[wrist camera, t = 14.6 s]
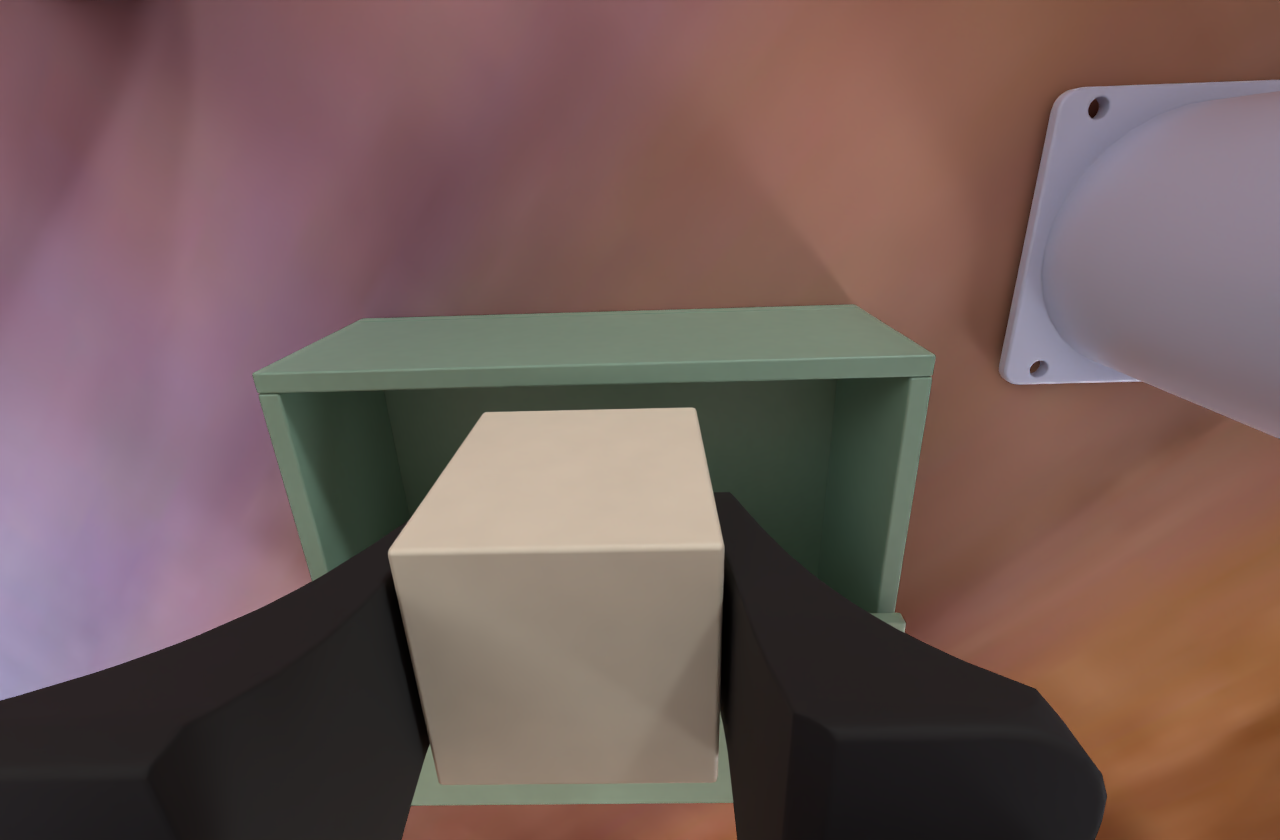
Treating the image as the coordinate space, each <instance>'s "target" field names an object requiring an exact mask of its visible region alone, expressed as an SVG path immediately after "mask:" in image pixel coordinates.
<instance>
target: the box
mask: <svg viewBox="0 0 1280 840" xmlns="http://www.w3.org/2000/svg"><path fill="white" fill-rule="evenodd" d="M935 358H936V357H935V355H934V354H933V353H931V352H930V351H928V350H926V349H925V348H923V347H922V346H920V345H918V344H917V343H915V342H914V341H912V340H910V339H909V338H907V337H906V336H904V335H902V334H901V333H899V332H898V331H896V330H894V329H893V328H891V327H890V326H888V325H886V324H885V323H883V322H882V321H880V320H878V319H877V318H875V317H874V316H872V315H870V314H869V313H867V312H866V311H864V310H862V309H861V308H859V307H858V306H856V305H854V304H851V305H816V306H781V307H746V308H711V309H677V310H642V311H607V312H572V313H538V314H503V315H468V316H433V317H398V318H364V319H360V320H358V321H356V322H354V323H352V324H350V325H348V326H346V327H344V328H342V329H340V330H338V331H336V332H334V333H332V334H330V335H328V336H326V337H324V338H322V339H320V340H318V341H316V342H314V343H312V344H310V345H308V346H306V347H304V348H302V349H300V350H298V351H296V352H294V353H292V354H290V355H288V356H286V357H284V358H282V359H280V360H278V361H276V362H274V363H272V364H270V365H268V366H266V367H264V368H262V369H260V370H258V371H256V372H254V373H253V375H252V376H253V379H254V383H255V386H256V389H257V392H258V393H261V394H259V400H260V403H261V407H262V410H263V414H264V417H265V420H266V424H267V427H268V431H269V434H270V438H271V441H272V445H273V448H274V452H275V455H276V458H277V462H278V465H279V469H280V472H281V476H282V479H283V483H284V486H285V489H286V493H287V496H288V500H289V503H290V507H291V510H292V514H293V517H294V520H295V524H296V527H297V531H298V534H299V538H300V541H301V545H302V548H303V551H304V555H305V558H306V562H307V565H308V569H309V572H310V576H311V579H312V581H314V580H315V579H317V578H319V577H321V576H322V575H324V574H326V573H327V572H329V571H331V570H332V569H334V568H336V567H337V566H339V565H340V564H342V563H344V562H345V561H347V560H348V559H350V558H352V557H353V556H355V555H357V554H358V553H360V552H361V551H363V550H365V549H366V548H368V547H369V546H371V545H372V544H374V543H375V542H377V541H378V540H380V539H381V538H383V537H384V536H386V535H387V534H389V533H390V532H392V531H393V530H395V529H396V528H398V527H399V526H401V525H402V524H404V523H405V522H406V521H408V520H409V519H410V518H411V517H412V515H413V514H414V512H415V511H416V510H417V508H418V507H419V505H420V504H421V502H422V501H423V499H424V498H425V497H426V495H427V494H428V492H429V491H430V489H431V488H432V486H433V485H434V484H435V482H436V481H437V479H438V478H439V476H440V475H441V473H442V472H443V471H444V469H445V468H446V466H447V465H448V463H449V462H450V460H451V459H452V458H453V456H454V455H455V453H456V452H457V450H458V449H459V447H460V446H461V445H462V443H463V442H464V440H465V439H466V437H467V436H468V434H469V433H470V432H471V430H472V429H473V427H474V426H475V424H476V423H477V421H478V420H479V419H480V417H481V416H482V414H483V413H485V412H515V411H559V410H603V409H647V408H691V407H692V408H695V409H696V412H697V417H698V421H699V426H700V431H701V436H702V441H703V445H704V450H705V455H706V460H707V465H708V470H709V474H710V479H711V484H712V489H713V492H730V493H731V494H732V495H733V496H734V497H735V498H736V499H737V500H738V501H739V502H740V503H741V505H742V506H743V507H744V508H745V509H746V510H747V512H748V513H749V514H750V515H751V516H752V517H753V518H754V519H755V520H756V522H757V523H758V524H759V525H760V526H761V527H762V528H763V529H764V530H765V531H766V532H767V533H768V534H769V535H770V536H771V537H772V538H773V539H774V540H775V541H776V542H777V543H778V544H779V545H780V546H781V547H782V548H783V549H784V550H785V551H786V552H787V553H788V554H789V555H790V556H792V557H793V558H794V559H795V560H796V561H797V562H799V563H800V564H801V565H802V566H803V567H804V568H806V569H807V570H808V571H809V572H810V573H812V574H813V575H814V576H816V577H817V578H818V579H819V580H821V581H822V582H824V583H825V584H826V585H828V586H829V587H831V588H832V589H833V590H835V591H836V592H838V593H839V594H841V595H842V596H843V597H845V598H846V599H848V600H849V601H851V602H852V603H854V604H855V605H857V606H859V607H860V608H862V609H863V610H865V611H867V612H868V613H895V607H896V601H897V594H898V588H899V582H900V576H901V569H902V563H903V557H904V551H905V545H906V538H907V532H908V526H909V520H910V514H911V507H912V501H913V495H914V489H915V482H916V476H917V470H918V464H919V458H920V451H921V445H922V439H923V433H924V427H925V420H926V414H927V408H928V402H929V395H930V389H931V383H932V377H931V376H932V375H933V371H934V364H935Z"/></svg>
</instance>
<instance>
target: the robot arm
mask: <svg viewBox="0 0 1280 840" xmlns="http://www.w3.org/2000/svg"><path fill="white" fill-rule="evenodd" d="M1094 99H1096V100H1097V102H1098V103H1099V110H1098V112H1097V114H1096V116H1094V117H1093V118H1091V117H1090V116H1089V114H1088V108H1089V106H1090V104H1091V102H1092V101H1093V100H1094ZM1037 361H1040V366H1039V368H1038V369H1037V370H1036V371H1035V372H1033V373H1030V368H1031V366H1032V364H1034V363H1035V362H1037ZM999 373H1000V375H1001V377H1002V378H1003V379H1005V380H1006V381H1008V382H1010V383H1011V384H1017V385H1022V384H1062V383H1101V382H1141V381H1142V382H1144V383H1147V384H1149V385H1152V386H1154V387H1156V388H1159V389H1161V390H1164V391H1166V392H1168V393H1171V394H1173V395H1176V396H1178V397H1180V398H1183V399H1185V400H1188V401H1190V402H1192V403H1195V404H1197V405H1200V406H1202V407H1204V408H1207V409H1209V410H1212V411H1214V412H1216V413H1219V414H1221V415H1223V416H1226V417H1228V418H1231V419H1233V420H1235V421H1238V422H1240V423H1243V424H1245V425H1247V426H1250V427H1252V428H1255V429H1257V430H1259V431H1262V432H1264V433H1267V434H1269V435H1271V436H1274V437H1276V438H1279V439H1280V80H1256V81H1229V82H1202V83H1175V84H1148V85H1121V86H1094V87H1080V88H1075V89H1071V90H1067V91H1066V92H1064V93H1063V94H1061V95H1060V96H1059V97H1058V98H1057V99H1056V101H1055V102H1054V104H1053V107H1052V109H1051V113H1050V118H1049V123H1048V128H1047V133H1046V137H1045V142H1044V147H1043V152H1042V157H1041V162H1040V167H1039V172H1038V177H1037V182H1036V187H1035V192H1034V196H1033V201H1032V206H1031V211H1030V216H1029V221H1028V226H1027V231H1026V236H1025V241H1024V246H1023V250H1022V255H1021V260H1020V265H1019V270H1018V275H1017V280H1016V285H1015V290H1014V295H1013V300H1012V304H1011V309H1010V314H1009V319H1008V324H1007V329H1006V334H1005V339H1004V344H1003V349H1002V354H1001V359H1000V363H999ZM713 494H714V498H715V503H716V508H717V513H718V518H719V522H720V527H721V532H722V537H723V542H724V546H725V554H724V588H723V622H722V656H721V690H720V713H721V718H722V723H723V728H724V733H725V739H726V745H727V751H728V760H729V768H730V777H731V786H732V795H733V804H734V813H735V822H736V831H737V840H1095V838H1096V835H1097V833H1098V830H1099V828H1100V825H1101V822H1102V819H1103V814H1104V809H1105V803H1106V798H1107V794H1106V790H1105V785H1104V781H1103V776H1102V774H1101V772H1100V771H1099V770H1098V768H1097V767H1096V766H1095V764H1094V763H1093V761H1092V760H1091V759H1090V757H1089V756H1088V755H1087V753H1086V752H1085V751H1084V749H1083V748H1082V746H1081V745H1080V744H1079V742H1078V741H1077V740H1076V738H1075V737H1074V735H1073V734H1072V733H1071V731H1070V730H1069V729H1068V727H1067V726H1066V724H1065V723H1064V722H1063V720H1062V719H1061V718H1060V717H1059V716H1058V714H1057V713H1056V712H1055V711H1054V710H1053V708H1052V707H1051V706H1050V705H1049V704H1048V702H1047V701H1046V700H1045V699H1044V698H1043V697H1042V696H1041V694H1040V693H1039V692H1038V691H1037V690H1036V689H1035V688H1032V687H1029V686H1027V685H1024V684H1022V683H1019V682H1016V681H1014V680H1011V679H1009V678H1006V677H1003V676H1001V675H998V674H996V673H993V672H991V671H988V670H985V669H983V668H980V667H978V666H975V665H972V664H970V663H967V662H965V661H963V660H960V659H958V658H956V657H954V656H951V655H949V654H947V653H945V652H943V651H941V650H939V649H936V648H934V647H932V646H930V645H928V644H926V643H924V642H921V641H919V640H917V639H915V638H914V637H912V636H910V635H908V634H906V633H904V632H902V631H900V630H898V629H896V628H894V627H893V626H891V625H889V624H887V623H886V622H884V621H882V620H881V619H879V618H877V617H875V616H874V615H872V614H870V613H868V612H867V611H865V610H863V609H862V608H860V607H859V606H857V605H855V604H854V603H852V602H851V601H849V600H848V599H846V598H845V597H843V596H842V595H841V594H839V593H838V592H836V591H835V590H833V589H832V588H831V587H829V586H828V585H826V584H825V583H824V582H822V581H821V580H819V579H818V578H817V577H816V576H814V575H813V574H812V573H810V572H809V571H808V570H807V569H806V568H804V567H803V566H802V565H801V564H800V563H799V562H797V561H796V560H795V559H794V558H793V557H792V556H790V555H789V554H788V553H787V552H786V551H785V550H784V549H783V548H782V547H781V546H780V545H779V544H778V543H777V542H776V541H775V540H774V539H773V538H772V537H771V536H770V535H769V534H768V533H767V532H766V531H765V530H764V529H763V528H762V527H761V526H760V525H759V524H758V523H757V522H756V520H755V519H754V518H753V517H752V516H751V515H750V514H749V513H748V512H747V510H746V509H745V508H744V507H743V506H742V505H741V503H740V502H739V501H738V500H737V499H736V498H735V497H734V496H733V495H732V494H731V493H730V492H713ZM409 520H410V519H409ZM409 520H408V521H409ZM408 521H406V522H405V523H404V524H402V525H401V526H399V527H398V528H396V529H395V530H393V531H392V532H390V533H389V534H387V535H386V536H384V537H383V538H381V539H380V540H378V541H377V542H375V543H374V544H372V545H371V546H369V547H368V548H366V549H365V550H363V551H361V552H360V553H358V554H357V555H355V556H353V557H352V558H350V559H348V560H347V561H345V562H344V563H342V564H340V565H339V566H337V567H336V568H334V569H332V570H331V571H329V572H327V573H326V574H324V575H322V576H321V577H319V578H317V579H315V580H314V581H312V582H310V583H308V584H306V585H305V586H303V587H301V588H299V589H297V590H295V591H293V592H292V593H290V594H288V595H286V596H284V597H282V598H280V599H278V600H276V601H274V602H272V603H270V604H268V605H266V606H264V607H262V608H260V609H258V610H256V611H253V612H251V613H249V614H246V615H244V616H242V617H240V618H237V619H235V620H233V621H230V622H228V623H226V624H224V625H221V626H219V627H217V628H214V629H212V630H210V631H207V632H205V633H203V634H201V635H198V636H196V637H193V638H191V639H188V640H186V641H183V642H181V643H178V644H175V645H173V646H170V647H167V648H165V649H162V650H160V651H157V652H154V653H151V654H149V655H146V656H143V657H140V658H137V659H134V660H131V661H129V662H126V663H123V664H120V665H117V666H114V667H111V668H108V669H105V670H102V671H99V672H96V673H93V674H90V675H86V676H83V677H80V678H76V679H73V680H70V681H66V682H63V683H59V684H56V685H53V686H49V687H46V688H43V689H39V690H36V691H33V692H29V693H26V694H23V695H19V696H16V697H12V698H8V699H5V700H1V701H0V840H402V836H403V832H404V829H405V825H406V821H407V818H408V814H409V810H410V807H411V803H412V800H413V797H414V793H415V790H416V786H417V783H418V780H419V776H420V773H421V769H422V766H423V763H424V759H425V756H426V753H427V750H428V748H429V745H430V742H429V737H428V733H427V728H426V724H425V719H424V715H423V710H422V706H421V701H420V697H419V692H418V688H417V683H416V679H415V675H414V670H413V666H412V661H411V657H410V652H409V648H408V643H407V639H406V634H405V630H404V625H403V621H402V616H401V612H400V608H399V603H398V599H397V594H396V590H395V585H394V581H393V576H392V572H391V567H390V563H389V558H388V551H389V549H390V547H391V546H392V544H393V543H394V541H395V540H396V538H397V537H398V536H399V534H400V533H401V531H402V530H403V528H404V527H405V525H406V524H407V523H408Z"/></svg>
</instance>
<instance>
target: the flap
mask: <svg viewBox="0 0 1280 840" xmlns="http://www.w3.org/2000/svg"><path fill="white" fill-rule="evenodd" d="M870 614H872V615H874V616H875V617H877V618H879V619H881V620H882V621H884V622H886V623H887V624H889V625H891V626H893V627H894V628H896V629H898V630H900V631H902V632H905V626H906V622H905V620H904V619H903V617H902V615H901V614H900V613H870ZM648 803H733V795H732V786H731V777H730V768H729V760H728V751H727V745H726V739H725V733H724V728H723V723H722V718H721V713H720V724H719V759H718V778H717V780H716V782H713V783H616V784H507V785H442V784H440V783H439V782H438V777H437V773H436V768H435V764H434V759H433V755H432V750H431V746H430V745H429V748H428V750H427V753H426V756H425V759H424V763H423V766H422V769H421V773H420V776H419V780H418V783H417V786H416V790H415V793H414V797H413V800H412V803H411V806H422V805H535V804H648Z"/></svg>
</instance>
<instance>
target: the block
mask: <svg viewBox="0 0 1280 840" xmlns="http://www.w3.org/2000/svg"><path fill="white" fill-rule="evenodd" d="M724 554H725V546H724V542H723V537H722V532H721V527H720V522H719V518H718V513H717V508H716V503H715V498H714V494H713V489H712V484H711V479H710V474H709V470H708V465H707V460H706V455H705V450H704V445H703V441H702V436H701V431H700V426H699V421H698V417H697V412H696V409H695V408H692V407H691V408H647V409H603V410H559V411H515V412H485V413H483V414H482V416H481V417H480V419H479V420H478V421H477V423H476V424H475V426H474V427H473V429H472V430H471V432H470V433H469V434H468V436H467V437H466V439H465V440H464V442H463V443H462V445H461V446H460V447H459V449H458V450H457V452H456V453H455V455H454V456H453V458H452V459H451V460H450V462H449V463H448V465H447V466H446V468H445V469H444V471H443V472H442V473H441V475H440V476H439V478H438V479H437V481H436V482H435V484H434V485H433V486H432V488H431V489H430V491H429V492H428V494H427V495H426V497H425V498H424V499H423V501H422V502H421V504H420V505H419V507H418V508H417V510H416V511H415V512H414V514H413V515H412V517H411V518H410V520H409V521H408V523H407V524H406V525H405V527H404V528H403V530H402V531H401V533H400V534H399V536H398V537H397V538H396V540H395V541H394V543H393V544H392V546H391V547H390V549H389V551H388V558H389V563H390V567H391V572H392V576H393V581H394V585H395V590H396V594H397V599H398V603H399V608H400V612H401V616H402V621H403V625H404V630H405V634H406V639H407V643H408V648H409V652H410V657H411V661H412V666H413V670H414V675H415V679H416V683H417V688H418V692H419V697H420V701H421V706H422V710H423V715H424V719H425V724H426V728H427V733H428V737H429V742H430V746H431V750H432V755H433V759H434V764H435V768H436V773H437V777H438V782H439V783H440V784H442V785H507V784H616V783H713V782H716V780H717V778H718V759H719V724H720V690H721V656H722V622H723V588H724Z"/></svg>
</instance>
